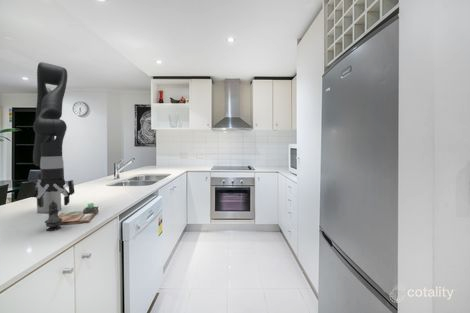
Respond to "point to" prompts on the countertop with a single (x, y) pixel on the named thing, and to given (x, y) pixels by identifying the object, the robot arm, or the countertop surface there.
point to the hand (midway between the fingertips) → (54, 205)
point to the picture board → (78, 216)
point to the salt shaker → (53, 218)
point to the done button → (91, 206)
